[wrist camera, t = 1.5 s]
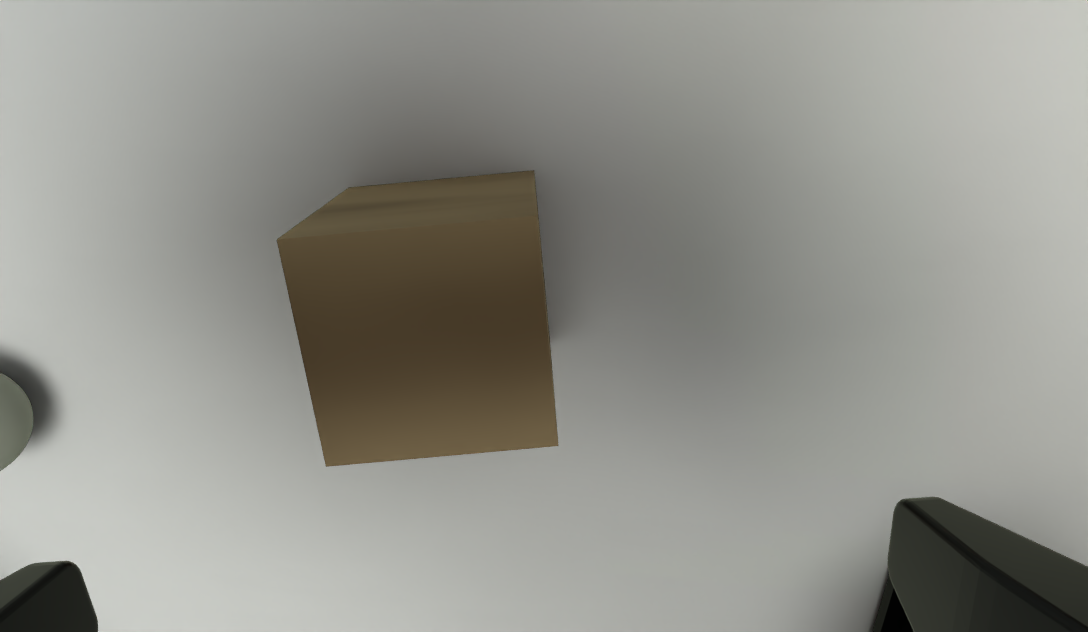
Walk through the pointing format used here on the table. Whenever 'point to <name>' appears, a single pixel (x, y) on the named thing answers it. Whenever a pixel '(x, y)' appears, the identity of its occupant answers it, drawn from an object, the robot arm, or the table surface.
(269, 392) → the table surface
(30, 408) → the grey ball
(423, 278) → the walnut block
